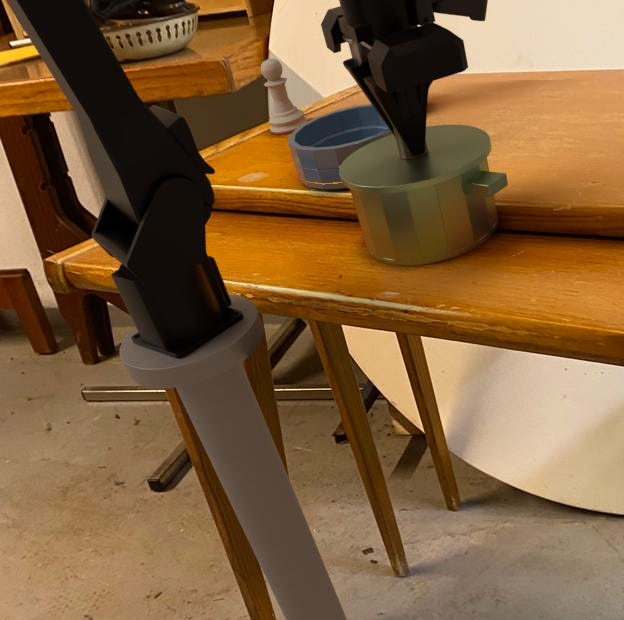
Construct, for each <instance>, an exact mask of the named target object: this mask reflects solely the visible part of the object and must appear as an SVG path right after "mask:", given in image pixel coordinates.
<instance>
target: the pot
mask: <svg viewBox="0 0 624 620" xmlns="http://www.w3.org/2000/svg"><path fill="white" fill-rule="evenodd" d="M340 166H341V165H340ZM340 166H339V169H340ZM508 186H509V182H508V175H507V173H505V172H497V171H490V167H489V160H488V157H487V158H486V159H485V160H484V161H483V162H482V163H481V164H479V165H478V166H476V167H475V168H473V169H472V170H470V171H468V172H467V173H465V174H463V175H461V176H458V177H456V178H454V179H451V180H449V181H446V182H443V183H440V184H437V185H434V186H430V187H427V188H423V189H418V190H413V191H407V192H401V193H391V194H369V193H362V192H357V191H354V190H351V189H349V190H350V194H351V197H352V201H353V204H354V208H355V212H356V215H357V219H358V222H359V226H360V229H361V233H362V237H363V240H364V243H365V247H366V249H367V251H368V253H369V255H370V256H371V257H372V258H373V259H375V260H376V261H377V262H378V261H379V262H380V263H383V264H387V265H393V266H401V267H403V266H404V267H407V266H409V267H410V266H411V267H413V266H422V265H423V266H424V265H430V264H435V263H439V262H444V261H447V260H450V259H454V258H457V257H459V256H461V255H464V254H466V253H469V252H471V251H473V250H475V249H476V248H478V247H479V246H481V245H483V244H484V243H485V242H487V241H488V240H489V239H490V238H491V237H492V236H493V235H494V233H496V230H497V228H498V223H499V220H498V219H499V216H498V212H497V206H496V200H495V195H496V194H497V193H499V192H500V191H502V190H504V189H505V188H507V187H508Z"/></svg>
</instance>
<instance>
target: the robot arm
mask: <svg viewBox="0 0 624 620" xmlns="http://www.w3.org/2000/svg"><path fill="white" fill-rule="evenodd" d="M338 1H339V5H340V6H336V7H333V8H328V9H327V11H326V13H325V15H324V17H323V19H322V21H321V23H320V27H321V31H322V34H323V38H324V42H325V45H326V48H327V49H328V50H329V51H331V52H332V54H333V53H334V54H337V53H339V52H342V44H345V43H347V44H348V47H349V51H350V55H351V58H347V59H345V60H343V61H342V65H343V67H344V68H345V69H346V70H347V71H348V73H349V74H350V75H351V77H352V79H353V80H354V81H355V83H356V84H357V86H358V87H359V88H360V90H361V92H362V93H363V94H364V95H365V97H366V98H367V100H368V101H369V103H370V104H372V105H373V107H374V108H375V109H376V111H377V112H378V114H379V115H380V117H381V118H382V120H383V121H384V122H385V124H386V125H387V127H388V128H389V130H390V131H391V133H392V134H393V135H394V137H395V134H394V130H393V127H394V129H395V131H396V132H397V134H398V135H399V137H400V139H401V140H402V142H403V143H404V145H405V146H406V148H407V149H408V151H409V153H410V154H411V155H412V156H418V155H421V154H423V153H424V152H425V138H426V127H427V116H428V99H429V90H430V87H431V85H432V84H433V82H434V81H437V80H441V79H444V78H447V77H450V76H454V75H456V74H460V73H463V72H465V71H466V70H467V69H468V68H469V65H468V64H469V63H468V58H467V53H466V47H465V42H464V39H463V38H461V37H460V36H458V35H457V34H456V33H454V32H452V31H451V30H450V29H448V28H446V27H444V26H442V25H440V24H437V23H436V17H435V14H442V15H448V16H457V17H466V18H469V19H470V20H471V21H474V22H475V21H476V22H485V21H486V19H487V11H488V2H489V0H338ZM5 2H6V4H7V5H8V6H9V8H10V10H11V12H12V13H13V15H14V16H15V18H16V19H17V21H18V23H19V24H20V26H21V27H22V29H23V30H24V32H25V34H26V35H27V37H28V38H29V40H30V42H31V43H32V45H33V47H34V48H35V50H36V52H37V53H38V54H39V56H40V59H42V61H43V63H44V65H45V66H46V68H47V69H48V70H49V72H50V73H51V75H52V77H53V79H54V80H55V82H56V83H57V85H58V86H59V89H60V90H61V91H62V93H63V95H64V96H65V98H66V99H67V101H68V103H69V105H70V106H71V108H72V109H73V111H74V112H75V115H76V117H77V119H78V121H79V125H80V128H81V131H82V135H83V137H84V141H85V145H86V148H87V151H88V155H89V158H90V161H91V163H92V166H93V167H94V170H95V172H96V175H97V177H98V179H99V181H100V184H101V186H102V189H103V191H104V193H105V199H104V201H103V204H102V206H101V209H100V211H99V213H98V216H97V219H96V221H95V224H94V226H93V228H92V232H91V238H92V240H93V241H95V242H96V243H97V244H98V245H99V246H100V247H101V248H102V250H103V251H105V252H106V253H107V254H108V255H109V256H110V257H111V258H114V259H115V260H116V261H117V262H119V263H120V265H119V268H118V269H117V270H115V271H114V272H112V273H111V274H110V276H111V278H112V280H113V283H114V285H115V287H116V289H117V290H118V294H119V295H120V297H121V299H122V301H123V303H124V306H125V307H126V309H127V312H128V313H129V315H130V318H131V319H132V322H133V324H134V326H135V327H136V328H137V330H138V333H136V334H135V335H133V336H132V337H131V339H132V341H133V343H134V344H137V345H139V346H142V347H145V348H148V349H151V350H153V351H156V352H159V353H162V354H165V355H167V356H170V357H173V358H176V359H181V358H184V357H186V356H187V355H189V354H190V353H192V352H193V351H195V350H196V349H198V348H199V347H201V346H202V345H204V344H205V343H207V342H208V341H210V340H212V339H213V338H215V337H216V336H218V335H219V334H221V333H222V332H224V331H225V330H227V329H228V328H230V327H231V326H233V325H234V324H236V323H237V322H239V321H240V320H242V319H243V318H244V316H243V313H242V311H239V310H236V309H232V308H229V306H231V303H232V301H231V299H230V296H229V291H228V289H227V287H226V284H225V281H224V279H223V276H222V274H221V271H220V269H219V266H218V264H217V261H216V259H215V257H213V256H212V255H211V256H210V255H209V254H208V252H207V235H206V233H207V232H206V225H207V223H208V222H209V220H210V218H211V215H212V212H213V207H214V205H215V204H216V198H215V197H216V196H215V191H214V188H213V186H212V183H211V180H210V179H209V177H208V176H207V175H214V174H215V173H216V170H215V169H214V168H213V167H212V166H211V165H210V164H209V163H207V162H206V160H205V159H204V158H203V156H202V155H201V153H200V152H199V149H198V147H197V144H196V142H195V138H194V136H193V134H192V131H191V128H190V126H189V124H188V122H187V120H186V118H185V117H184V116H181V115H179V114H177V113H175V112H173V111H170V110H168V109H165V108H162V107H160V106H158V105H155V104H152V105H151V106H150V107H149V106H148V105H147V104H146V102H145V101H143V99H141V97H140V96H139V95H138V92H137V90H136V89H135V87H134V86H133V84H132V82H131V80H130V79H129V77H128V75H127V74H126V72H125V70H124V68H123V66H122V65H121V62H120V61H119V59H118V58H117V55H116V54H115V52H114V50H113V49H112V47H111V45H110V43H109V42H108V40H107V39H106V37H105V34H104V33H103V31H102V29H101V27H100V26H99V24H98V22H97V20H96V19H95V17H94V15H93V13H92V12H91V10H90V8H89V6H88V5H87V3H86V1H85V0H5ZM413 26H418V27H415V28H414V27H413Z"/></svg>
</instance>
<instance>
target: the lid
mask: <svg viewBox="0 0 624 620" xmlns="http://www.w3.org/2000/svg"><path fill="white" fill-rule="evenodd" d="M393 130H394V134H395V137H394V135H393V134H392V135H389V136H386V137H384V138H381V139H378V140H376V141H374V142H371V143H369V144H367V145H365V146H363V147H362V148H360V149H358V150H357V151H355V152H354V153H352V154H351V155H350V156H348V157H347V158H346V159H345V160H344V161H343V163H342V164H341V166H340V169H339V175H340V178H341V181H342V183H343V184H344V185H345V186H346V187H347V188H349V189H348V190H350V189H351V190H354V191H357V192H362V193H369V194H391V193H401V192H407V191H413V190H418V189H423V188H427V187H430V186H434V185H437V184H440V183H443V182H446V181H449V180H451V179H454V178H456V177H458V176H461V175H463V174H465V173H467V172H468V171H470V170H472V169H473V168H475V167H476V166H478V165H479V164H481V163H482V162H483V161H484V160H485V159H486V158H487V159H488V157H489V155H490V153H491V152H492V141H491V136H490V135H489V134H488V132H487V131H485V130H483V129H481V128H479V127H476V126H472V125H467V124H436V125H426V138H425V152H424V153H423V154H421V155H418V156H412V155H411V154H410V153H409V151H408V149H407V148H406V146H405V145H404V143H403V142H402V140H401V139H400V137H399V135H398V134H397V132H396V131H395V129H394V127H393Z"/></svg>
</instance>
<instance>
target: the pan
mask: <svg viewBox="0 0 624 620" xmlns="http://www.w3.org/2000/svg"><path fill="white" fill-rule="evenodd" d="M389 135H392V133H391V131H390V130H389V128H388V127H387V125H386V124H385V122H384V121H383V120H382V118H381V117H380V115H379V114H378V112H377V111H376V109H375V108H374V107H373V105H372V104H371V103H365V104H358V105H353V106H349V107H343V108H339V109H336V110H332V111H330V112H327V113H324V114H321V115H319V116H315V117H314V118H312V119H310V120H308V121H307V122H306V123H305V124H303V125H301V126H299V127H298V128H297V129H296V130H295V131H293V132H290V134H289V135H288V141H287V144H288V148H289V150H290V154H291V157H292V160H293V163H294V166H295V170H296V172H297V176H298V179H299V182H301V183H303V184H304V185H305V186H307V187H308V188H313V189H314V188H315V189H321V190H326V191H340V190H350V189H349V188H347V187H346V186H345V185H344V184H343V183H338V184H325V185H322V184H315V183H308V182H306V181H309V182H318V183H333V182H342V181H341V178H340V175H339V166H340V165H341V164H342V163H343V161H344V160H345V159H346V158H347V157H348V156H350V155H351V154H352V153H354V152H355V151H357V150H358V149H360V148H362V147H363V146H365V145H367V144H369V143H371V142H374V141H376V140H378V139H381V138H384V137H386V136H389ZM301 178H302V179H301ZM303 179H304V180H305V181H304V180H303Z"/></svg>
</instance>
